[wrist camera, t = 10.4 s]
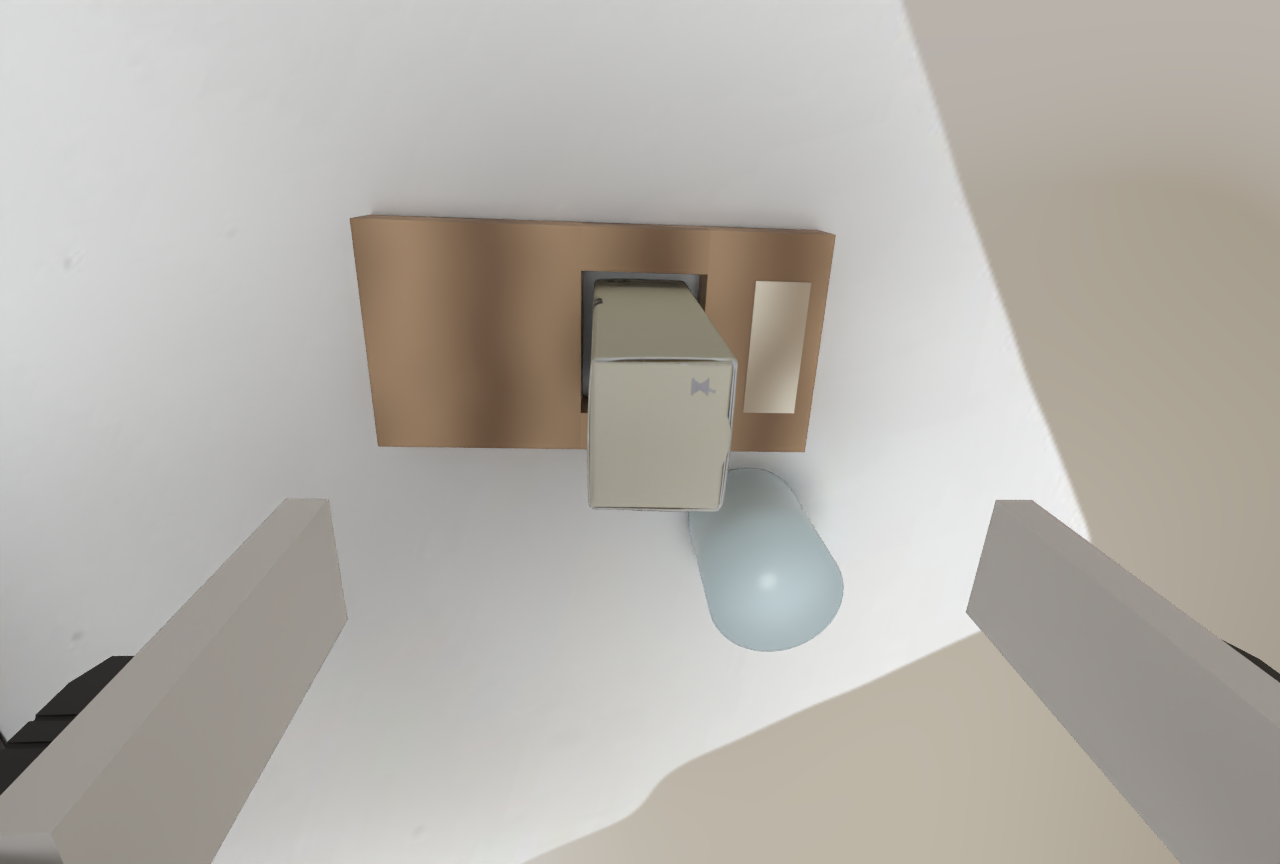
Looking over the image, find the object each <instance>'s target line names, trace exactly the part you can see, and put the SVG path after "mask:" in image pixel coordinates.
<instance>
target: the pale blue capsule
mask: <svg viewBox="0 0 1280 864" xmlns="http://www.w3.org/2000/svg"><path fill="white" fill-rule="evenodd" d="M688 526H689V531H690V536H691V540H692V543H693V547H694V551H695V555H696V559H697V563H698V567H699V571H700V575H701V579H702V583H703V587H704V591H705V595H706V599H707V603H708V607H709V611H710V615H711V617H712V620H713V622H714V624H715V626H716V627H717V629H718V630H719V631H720V632H721V633H722V634H723V635H724V636H725V637H726V638H727V639H729V640H730V641H731V642H733V643H735V644H737V645H739V646H741V647H744V648H747V649H751V650H755V651H767V652H772V651H781V650H786V649H790V648H793V647H796V646H799V645H801V644H803V643H805V642H807V641H809V640H811V639H813V638H814V637H815V636H817V635H818V634H819V633H821V632H822V631H823V630H824V629H825V628H826V627H827V626H828V625H829V624H830V623H831V621H832V620H833V618H834V617H835V615H836V613H837V612H838V610H839V607H840V605H841V602H842V597H843V588H844V586H843V578H842V574H841V571H840V569H839V567H838V565H837V563H836V562H835V560H834V558H833V557H832V555H831V554H830V552H829V550H828V549H827V547H826V545H825V544H824V542H823V540H822V539H821V537H820V536H819V534H818V532H817V531H816V529H815V527H814V526H813V524H812V523H811V521H810V519H809V518H808V516H807V514H806V513H805V511H804V509H803V508H802V506H801V505H800V503H799V501H798V500H797V498H796V496H795V495H794V493H793V491H792V490H791V488H790V487H789V486H788V485H787V484H786V482H785V481H783V480H782V479H781V478H780V477H778V476H776V475H775V474H773V473H770V472H768V471H765V470H761V469H755V468H741V469H735V470H731V471H728V473H727V481H726V488H725V494H724V501H723V505H722V507H721V508H720V510H719V511H716V512H690V511H689V517H688Z"/></svg>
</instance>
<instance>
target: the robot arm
mask: <svg viewBox="0 0 1280 864" xmlns="http://www.w3.org/2000/svg"><path fill="white" fill-rule="evenodd" d="M966 613H967V614H968V615H969V617H970V618H971V619H972V620H973V621H974V622H975V624H976V625H977V626H978V627H979V628H980V629H981V631H982V632H983V633H984V634H985V635H986V636H987V637H988V639H989V640H990V641H991V642H992V643H993V645H994V646H995V647H996V648H997V649H998V650H999V651H1000V653H1001V654H1002V655H1003V656H1004V657H1005V659H1006V660H1007V661H1008V662H1009V663H1010V664H1011V666H1012V667H1013V668H1014V669H1015V670H1016V672H1017V673H1018V674H1019V675H1020V676H1021V677H1022V679H1023V680H1024V681H1025V682H1026V683H1027V684H1028V686H1029V687H1030V688H1031V689H1032V690H1033V691H1034V693H1035V694H1036V695H1037V696H1038V697H1039V698H1040V700H1041V701H1042V702H1043V703H1044V704H1045V706H1046V707H1047V708H1048V709H1049V710H1050V711H1051V713H1052V714H1053V715H1054V716H1055V717H1056V718H1057V720H1058V721H1059V722H1060V723H1061V724H1062V725H1063V727H1064V728H1065V729H1066V730H1067V731H1068V732H1069V734H1070V735H1071V736H1072V737H1073V738H1074V739H1075V740H1076V742H1077V743H1078V744H1079V745H1080V746H1081V748H1082V749H1083V750H1084V751H1085V752H1086V753H1087V755H1088V756H1089V757H1090V758H1091V759H1092V761H1093V762H1094V763H1095V764H1096V765H1097V766H1098V768H1100V770H1101V771H1102V772H1103V773H1104V775H1105V776H1106V777H1107V778H1108V779H1109V780H1110V781H1111V783H1112V784H1113V785H1114V786H1115V787H1116V788H1117V790H1118V791H1119V792H1120V793H1121V794H1122V796H1123V797H1124V798H1125V799H1126V800H1127V801H1128V803H1129V804H1130V805H1131V806H1132V807H1133V808H1134V810H1135V811H1136V812H1137V813H1138V814H1139V816H1140V817H1141V818H1142V819H1143V820H1144V821H1145V823H1146V824H1147V825H1148V826H1149V827H1150V828H1151V830H1152V831H1153V832H1154V833H1155V834H1156V835H1157V837H1159V839H1160V840H1161V841H1162V842H1163V844H1164V845H1165V846H1166V847H1167V848H1168V849H1169V851H1170V852H1171V853H1172V854H1173V855H1174V856H1175V858H1176V859H1177V860H1178V861H1179V862H1180V863H1181V864H1280V674H1279V673H1278V672H1276V671H1275V670H1273V669H1272V668H1271V667H1269V666H1268V665H1267V664H1265V663H1264V662H1263V661H1261V660H1260V659H1258V658H1256V657H1254V656H1252V655H1250V654H1248V653H1247V652H1245V651H1243V650H1241V649H1239V648H1237V647H1235V646H1233V645H1231V644H1229V643H1227V642H1225V641H1223V640H1221V639H1220V638H1218V637H1217V636H1216V635H1214V634H1213V633H1211V632H1210V631H1209V630H1208V629H1206V628H1205V627H1203V626H1202V625H1201V624H1199V623H1198V622H1196V621H1195V620H1194V619H1192V618H1191V617H1190V616H1188V615H1187V614H1186V613H1184V612H1183V611H1182V610H1180V609H1179V608H1178V607H1176V606H1175V605H1174V604H1172V603H1171V602H1169V601H1168V600H1167V599H1165V598H1164V597H1163V596H1161V595H1160V594H1159V593H1157V592H1156V591H1154V590H1153V589H1152V588H1151V587H1149V586H1148V585H1146V584H1145V583H1144V582H1142V581H1141V580H1139V579H1138V578H1137V577H1136V576H1134V575H1133V574H1132V573H1130V572H1129V571H1127V570H1126V569H1125V568H1123V567H1122V566H1121V565H1119V564H1118V563H1117V562H1115V561H1114V560H1112V559H1111V558H1110V557H1108V556H1107V555H1106V554H1104V553H1103V552H1102V551H1100V550H1099V549H1097V548H1096V547H1095V546H1094V545H1092V544H1091V543H1089V542H1088V541H1087V540H1085V539H1084V538H1083V537H1081V536H1080V535H1079V534H1077V533H1076V532H1075V531H1073V530H1072V529H1070V528H1069V527H1068V526H1066V525H1065V524H1064V523H1062V522H1061V521H1060V520H1058V519H1057V518H1056V517H1054V516H1053V515H1051V514H1050V513H1049V512H1047V511H1046V510H1045V509H1043V508H1042V507H1041V506H1039V505H1038V504H1037V503H1035V502H1034V501H1032V500H996V502H995V505H994V509H993V513H992V517H991V520H990V524H989V528H988V531H987V535H986V539H985V543H984V546H983V550H982V554H981V558H980V561H979V565H978V569H977V573H976V576H975V580H974V584H973V587H972V591H971V595H970V599H969V602H968V606H967V610H966ZM346 621H347V613H346V607H345V601H344V594H343V588H342V582H341V576H340V569H339V563H338V557H337V550H336V544H335V538H334V531H333V525H332V519H331V513H330V506H329V500H328V499H285V500H284V501H283V502H282V504H281V505H280V506H279V507H278V508H277V509H276V510H275V511H274V512H273V513H272V514H271V515H270V516H269V517H268V518H267V519H266V520H265V521H264V522H263V523H262V524H261V525H260V526H259V527H258V528H257V529H256V531H255V532H254V533H253V534H252V535H251V536H250V537H249V538H248V539H247V540H246V541H245V542H244V543H243V544H242V545H241V546H240V547H239V548H238V549H237V550H236V551H235V552H234V553H233V554H232V555H231V557H230V558H229V559H228V560H227V561H226V562H225V563H224V564H223V565H222V566H221V567H220V568H219V569H218V570H217V571H216V572H215V573H214V574H213V575H212V576H211V577H210V578H209V579H208V580H207V581H206V582H205V584H204V585H203V586H202V587H201V588H200V589H199V590H198V591H197V592H196V593H195V594H194V595H193V596H192V597H191V598H190V599H189V600H188V601H187V602H186V603H185V604H184V605H183V606H182V607H181V608H180V609H179V611H178V612H177V613H176V614H175V615H174V616H173V617H172V618H171V619H170V620H169V621H168V622H167V623H166V624H165V625H164V626H163V627H162V628H161V629H160V630H159V631H158V632H157V633H156V634H155V635H154V636H153V638H152V639H151V640H150V641H149V642H148V643H147V644H146V645H145V646H144V647H143V648H142V649H141V650H140V651H139V652H138V653H137V654H136V655H135V656H112V657H110V658H108V659H107V660H105V661H104V662H102V663H100V664H99V665H97V666H96V667H94V668H92V669H91V670H89V671H88V672H86V673H84V674H83V675H81V676H80V677H78V678H76V679H75V680H73V681H71V682H70V683H68V684H67V685H66V686H65V687H64V688H63V689H62V690H61V691H60V692H59V693H58V694H57V695H56V696H55V697H54V698H53V699H52V700H51V701H50V702H49V703H48V704H47V705H46V706H44V707H43V708H42V709H41V710H40V711H39V712H38V713H37V714H36V718H35V720H34V721H29V722H28V723H27V724H26V725H25V726H24V727H23V728H22V729H21V730H19V731H18V732H17V733H16V734H15V735H14V736H13V737H12V738H11V739H10V740H9V741H8V742H7V747H6V748H5V746H4V744H3V742H2V741H1V739H0V864H211V862H212V861H213V859H214V857H215V855H216V853H217V852H218V850H219V848H220V846H221V845H222V843H223V841H224V839H225V837H226V836H227V834H228V832H229V830H230V828H231V827H232V825H233V823H234V821H235V820H236V818H237V816H238V814H239V812H240V811H241V809H242V807H243V805H244V804H245V802H246V800H247V798H248V796H249V795H250V793H251V791H252V789H253V787H254V786H255V784H256V782H257V780H258V779H259V777H260V775H261V773H262V771H263V770H264V768H265V766H266V764H267V762H268V761H269V759H270V757H271V755H272V754H273V752H274V750H275V748H276V746H277V745H278V743H279V741H280V739H281V737H282V736H283V734H284V732H285V730H286V729H287V727H288V725H289V723H290V721H291V720H292V718H293V716H294V714H295V712H296V711H297V709H298V707H299V705H300V704H301V702H302V700H303V698H304V696H305V695H306V693H307V691H308V689H309V687H310V686H311V684H312V682H313V680H314V679H315V677H316V675H317V673H318V671H319V670H320V668H321V666H322V664H323V662H324V661H325V659H326V657H327V655H328V654H329V652H330V650H331V648H332V646H333V645H334V643H335V641H336V639H337V637H338V636H339V634H340V632H341V630H342V629H343V627H344V625H345V623H346Z"/></svg>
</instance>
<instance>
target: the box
mask: <svg viewBox="0 0 1280 864" xmlns="http://www.w3.org/2000/svg"><path fill="white" fill-rule="evenodd" d="M737 370H738V362H737V359H736V358H735V356H734V355H733V353H732V352H731V350H730V349H729V347H728V346H727V345H726V343H725V342H724V340H723V339H722V337H721V336H720V334H719V333H718V331H717V330H716V328H715V327H714V325H713V324H712V322H711V321H710V319H709V318H708V316H707V315H706V314H705V312H704V310H703V309H702V308H701V306H700V305H699V303H698V302H697V300H696V299H695V297H694V296H693V294H692V293H691V291H690V290H689V288H688V287H687V285H686V284H685V283H684V282H683V281H664V280H625V279H613V280H597V281H595V284H594V297H593V320H592V348H591V365H590V378H589V395H588V432H587V468H588V499H589V506H590V507H591V508H593V509H617V510H636V511H642V510H647V511H690V512H716V511H719V510H720V508H721V507H722V505H723V501H724V494H725V488H726V481H727V473H728V464H729V456H730V448H731V440H732V428H733V417H734V407H735V395H736V381H737Z"/></svg>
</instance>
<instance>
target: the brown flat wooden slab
mask: <svg viewBox="0 0 1280 864" xmlns="http://www.w3.org/2000/svg"><path fill="white" fill-rule="evenodd" d="M350 224H351V232H352V240H353V248H354V256H355V264H356V272H357V280H358V288H359V296H360V304H361V312H362V320H363V328H364V336H365V344H366V352H367V360H368V368H369V376H370V384H371V392H372V401H373V409H374V417H375V425H376V433H377V441H378V446H389V447H463V448H537V449H587V432H588V396H582V394H583V271H606V272H639V273H672V274H700V277H699V291H698V303H699V305H700V306H701V308H702V309H703V310H704V312H705V314H706V315H707V316H708V318H709V319H710V321H711V322H712V324H713V325H714V327H715V328H716V330H717V331H718V333H719V334H720V336H721V337H722V339H723V340H724V342H725V343H726V345H727V346H728V347H729V349H730V350H731V352H732V353H733V355H734V356H735V358H736V359H737V362H738V370H737V381H736V395H735V407H734V417H733V428H732V440H731V448H730V451H758V452H805V446H806V439H807V432H808V425H809V418H810V411H811V404H812V397H813V390H814V383H815V376H816V369H817V362H818V355H819V348H820V341H821V334H822V327H823V320H824V313H825V306H826V299H827V292H828V285H829V278H830V271H831V264H832V257H833V250H834V243H835V236H836V235H834V234H830V233H827V232H823V231H819V230H795V229H766V228H737V227H708V226H679V225H650V224H621V223H592V222H563V221H534V220H505V219H476V218H447V217H418V216H389V215H366V216H360V217H354V218H350Z"/></svg>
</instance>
